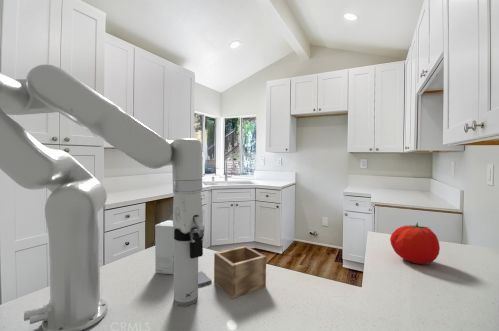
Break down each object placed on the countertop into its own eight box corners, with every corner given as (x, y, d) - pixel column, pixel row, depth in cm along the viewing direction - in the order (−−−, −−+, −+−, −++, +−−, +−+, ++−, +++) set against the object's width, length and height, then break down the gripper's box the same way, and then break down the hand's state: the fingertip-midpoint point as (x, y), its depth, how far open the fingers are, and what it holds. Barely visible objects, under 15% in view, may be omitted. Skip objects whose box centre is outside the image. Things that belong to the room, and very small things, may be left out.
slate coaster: (189, 289, 72) (189, 286, 72) (180, 279, 78) (180, 277, 78) (211, 282, 76) (211, 280, 76) (201, 273, 82) (201, 271, 82)
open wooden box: (232, 298, 68) (232, 265, 67) (214, 282, 76) (214, 253, 76) (265, 286, 74) (266, 256, 74) (245, 272, 83) (246, 245, 83)
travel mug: (194, 308, 63) (194, 229, 63) (169, 305, 64) (169, 227, 64) (202, 294, 70) (203, 222, 69) (179, 292, 71) (180, 221, 70)
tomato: (434, 259, 97) (436, 223, 96) (443, 273, 84) (445, 233, 84) (388, 251, 104) (389, 218, 103) (390, 264, 91) (391, 226, 91)
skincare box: (172, 275, 81) (172, 226, 80) (153, 273, 82) (153, 225, 81) (184, 264, 89) (184, 220, 88) (166, 262, 90) (167, 219, 90)
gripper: (163, 184, 71) (164, 244, 72) (185, 191, 57) (187, 266, 58) (189, 182, 75) (190, 239, 76) (216, 188, 61) (217, 258, 62)
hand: (189, 250), depth 67 cm, fingers open, 9 cm apart
